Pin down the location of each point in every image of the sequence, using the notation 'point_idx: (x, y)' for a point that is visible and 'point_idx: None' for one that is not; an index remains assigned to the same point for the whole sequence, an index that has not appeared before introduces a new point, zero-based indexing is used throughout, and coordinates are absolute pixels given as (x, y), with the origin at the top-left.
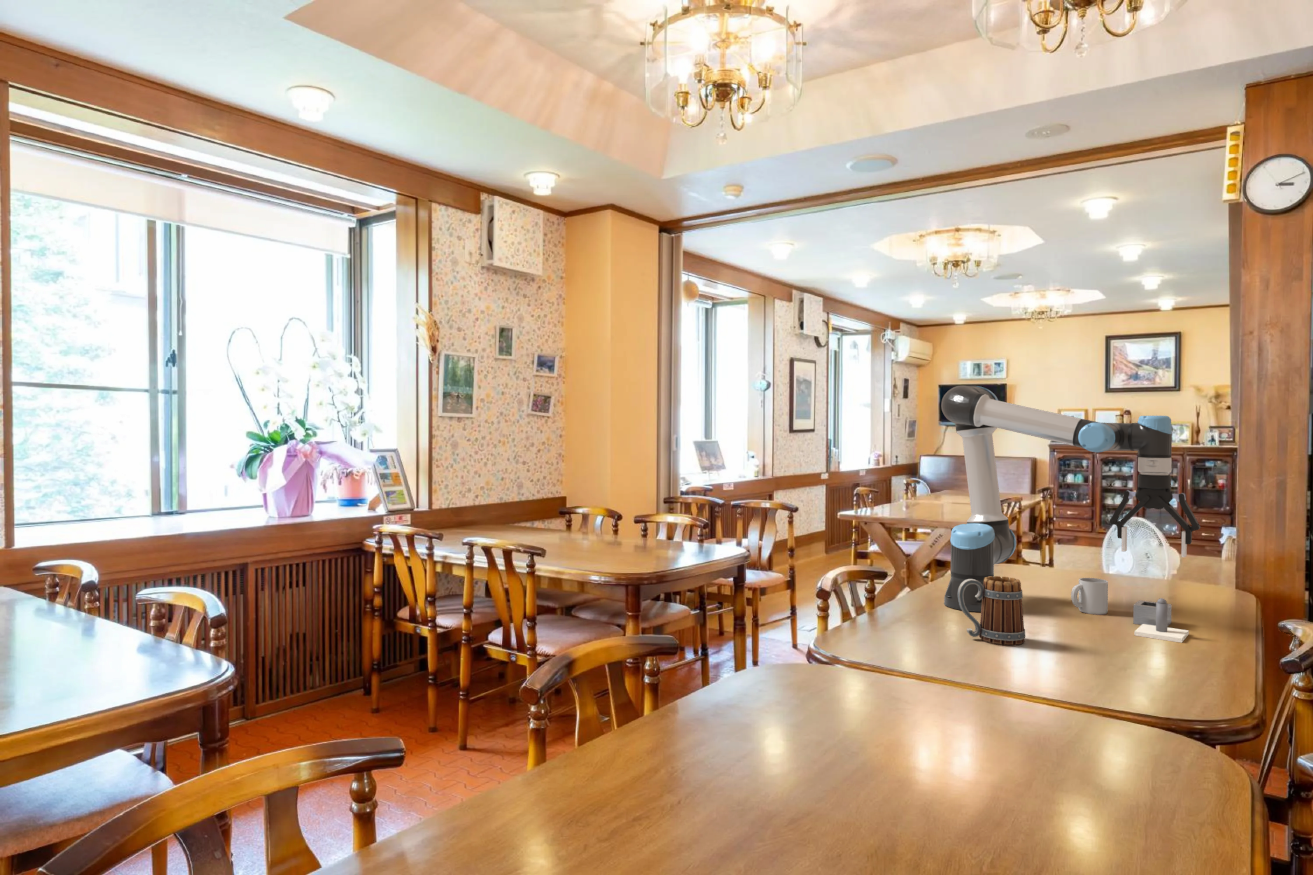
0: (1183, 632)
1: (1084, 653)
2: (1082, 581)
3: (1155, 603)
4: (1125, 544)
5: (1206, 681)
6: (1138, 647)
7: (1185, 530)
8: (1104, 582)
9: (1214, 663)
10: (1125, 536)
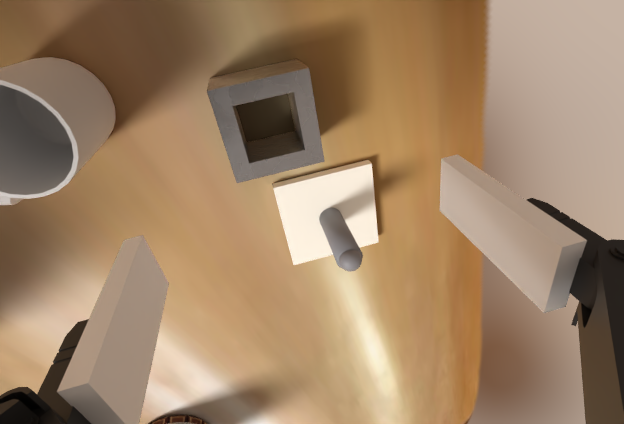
0: (368, 192)
1: (291, 394)
2: (3, 193)
3: (267, 97)
4: (153, 297)
5: (437, 370)
6: (331, 319)
7: (579, 312)
8: (74, 152)
9: (437, 305)
10: (142, 345)
